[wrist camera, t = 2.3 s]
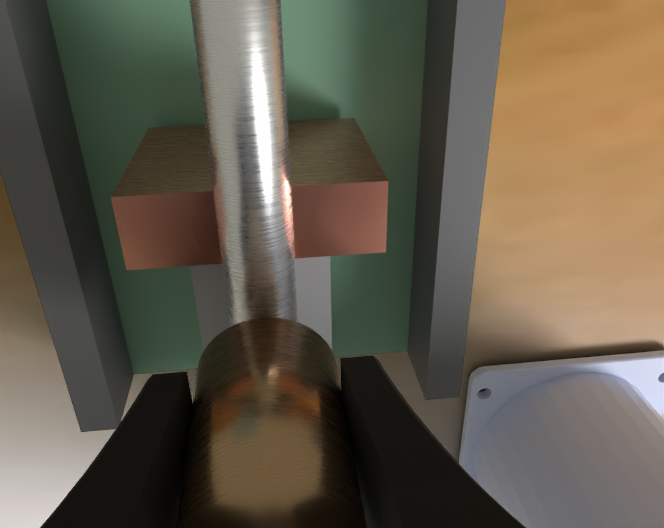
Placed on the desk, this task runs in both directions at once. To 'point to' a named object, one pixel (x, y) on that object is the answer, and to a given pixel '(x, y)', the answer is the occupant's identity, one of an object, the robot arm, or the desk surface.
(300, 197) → the kicker
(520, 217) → the desk surface
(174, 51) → the pitch
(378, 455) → the robot arm
